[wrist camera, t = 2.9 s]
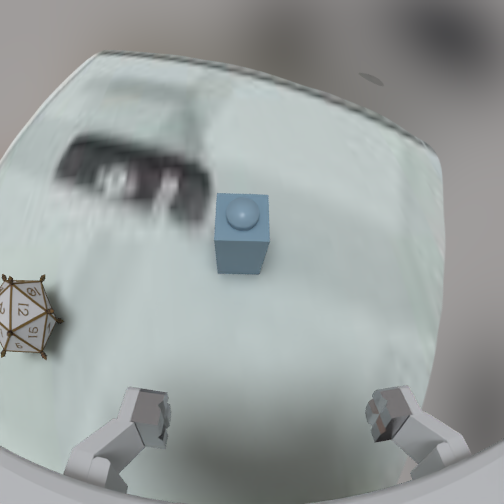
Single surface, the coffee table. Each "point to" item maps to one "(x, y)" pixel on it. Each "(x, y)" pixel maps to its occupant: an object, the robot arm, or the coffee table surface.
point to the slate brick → (241, 232)
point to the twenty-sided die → (25, 316)
